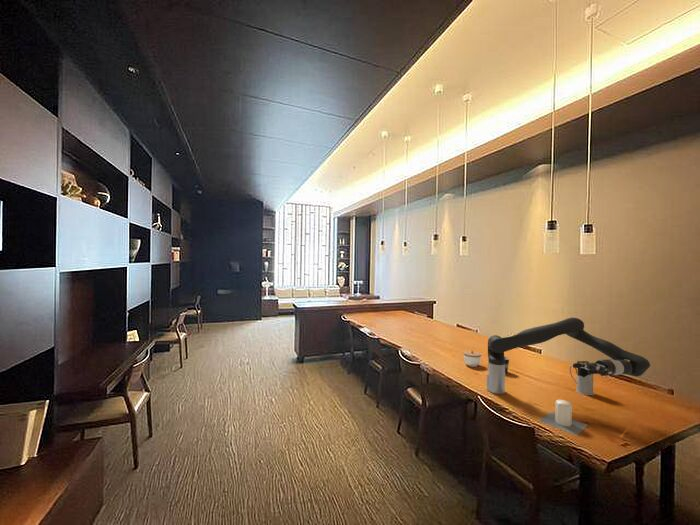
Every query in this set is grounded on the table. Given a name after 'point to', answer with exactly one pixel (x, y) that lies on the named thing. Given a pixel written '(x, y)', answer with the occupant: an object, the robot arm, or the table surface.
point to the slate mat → (573, 429)
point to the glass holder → (584, 381)
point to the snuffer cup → (563, 413)
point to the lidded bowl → (472, 358)
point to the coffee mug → (506, 364)
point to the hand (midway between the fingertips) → (580, 368)
